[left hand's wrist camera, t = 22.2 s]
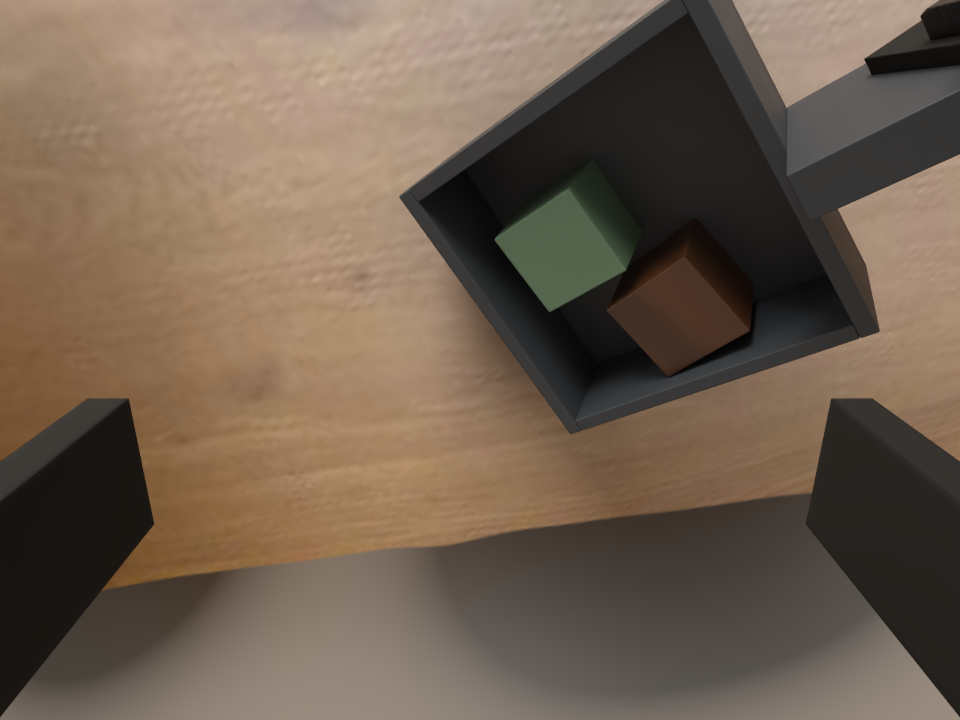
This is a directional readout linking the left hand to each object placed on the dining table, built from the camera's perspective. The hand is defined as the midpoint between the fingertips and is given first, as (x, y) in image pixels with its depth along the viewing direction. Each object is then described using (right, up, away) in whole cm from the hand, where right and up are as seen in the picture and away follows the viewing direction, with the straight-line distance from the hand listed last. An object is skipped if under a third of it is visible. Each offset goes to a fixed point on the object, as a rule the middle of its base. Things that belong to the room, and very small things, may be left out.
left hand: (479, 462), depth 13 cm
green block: (+3, +8, +24) cm, 26 cm away
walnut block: (+9, +4, +24) cm, 26 cm away
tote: (+13, +12, +21) cm, 27 cm away
